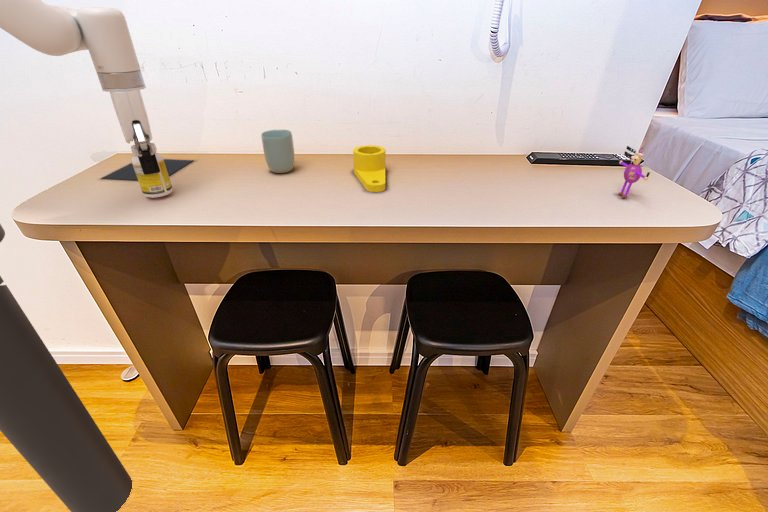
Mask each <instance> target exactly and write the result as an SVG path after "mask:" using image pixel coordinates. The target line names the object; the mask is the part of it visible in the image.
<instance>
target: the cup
mask: <svg viewBox="0 0 768 512" xmlns="http://www.w3.org/2000/svg"><path fill="white" fill-rule="evenodd" d="M260 137H261V145H262V150H263V155H264V158H265V164H266V165H267V167H268V169H269V170H270V171H271V172H272V173H275V174H285V173H289V172H291V171H292V170H293V168H294V166H295V161H296V160H295V147H294V137H293V133H292V131H291V130H288V129H271V130H270V129H269V130H266V131H263V132H261V135H260Z"/></svg>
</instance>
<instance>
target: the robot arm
mask: <svg viewBox="0 0 768 512" xmlns="http://www.w3.org/2000/svg"><path fill="white" fill-rule="evenodd" d="M0 29H1V30H3V31H5V32H6V33H8V34H9V35H10V36H12V37H14V38H15V39H16V40H18V41H19V42H22V43H23V44H25V45H26V46H28V47H30V48H31V49H33V50H34V51H37V52H39V53H41V54H43V55H47V56H52V57H62V56H64V55H68V54H71V53H72V54H73V53H75V52H81V51H87V50H88V53H89V55H90V58H91V61H92V63H93V67H94V69H95V72H96V75H97V78H98V81H99V84H100V86H101V90H102V91H103V92H107V93H109V94H110V98H111V101H112V105H113V108H114V111H115V114H116V117H117V121H118V123H119V125H120V129H121V131H122V135H123V137H124V140H125V142H126V143H127V144H131V142H133V143H134V145H136V148H137V151H138V154H139V156H138V158H139V161H140V164H141V167H142V170H143V173H144V174H145V175H147V174H153V173H159V172H160V169H159V165H158V162H157V159H156V156H155V154H154V153H153V150H152V147H151V144H150V143H151V141H152V140H153V135H152V130H151V126H150V121H149V116H148V114H147V108H146V107H145V103H144V99H143V95H142V93H141V90H145V89H146V88H147V87H146V83H145V80H144V77H143V73H142V70H141V66H140V63H139V60H138V57H137V53H136V50H135V46H134V43H133V40H132V36H131V32H130V30H129V27H128V22H127V19H126V17H125V15H124V13H123V12H122V11H121V10H120V9H118V8H114V7H103V6H101V7H99V6H98V7H97V6H95V7H94V6H91V7H89V6H87V7H80V8H73V7H71V8H70V7H64V6H59V5H49V4H47V3H45V2H44V1H43V0H0ZM146 143H147V144H146ZM138 144H140V145H139V146H138ZM140 151H141V152H140ZM141 154H142V155H141Z"/></svg>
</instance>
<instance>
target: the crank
mask: <svg viewBox="0 0 768 512" xmlns="http://www.w3.org/2000/svg"><path fill="white" fill-rule="evenodd" d="M352 158H353V174H354V175H355V177H357V179H358V181H359V182H360V183H361V185H362V186H363V188H364V189H365V190H366V191H367V192H370V193H380V192H383V191H385V190H386V148H385V147H383V146H379V145H371V144H370V145H368V144H367V145H360V146H355V147H354V148H353V149H352Z"/></svg>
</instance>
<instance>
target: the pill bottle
mask: <svg viewBox="0 0 768 512" xmlns="http://www.w3.org/2000/svg"><path fill="white" fill-rule="evenodd" d="M146 144H147V143H146ZM150 144H151V147H152V150H153V153H154V154H155V156H156V159H157V162H158V165H159V169H160V172H159V173H153V174H147V175H145V174H144V173H143V170H142V167H141V164H140V161H139V158H138V156H139V154H138V151H137V148H136V145H135V144H133V145H131V146H130V150H131V153H132V155H134V156H132V159H131V163H132V165H133V167H134V170H135V173H136V176H137V179H138V180H137V181H138V184H139V187H140V190H141V192H142V195H143V196H145V197H146V198H153V199H155V198H161V197H164V196H167V195H169V194H171V193H172V192H173V185H172V183H171V179H170V176H169V175H168V172H167V169H166V166H165V163H164V157H163V155H162V154H161V153H158V152H157V147H156V144H155V143H154V142H150ZM139 145H140V144H138V146H139ZM140 152H141V151H140ZM141 155H142V154H141Z"/></svg>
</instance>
